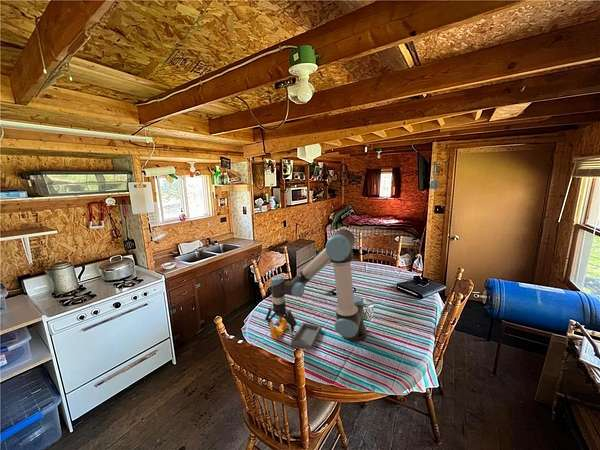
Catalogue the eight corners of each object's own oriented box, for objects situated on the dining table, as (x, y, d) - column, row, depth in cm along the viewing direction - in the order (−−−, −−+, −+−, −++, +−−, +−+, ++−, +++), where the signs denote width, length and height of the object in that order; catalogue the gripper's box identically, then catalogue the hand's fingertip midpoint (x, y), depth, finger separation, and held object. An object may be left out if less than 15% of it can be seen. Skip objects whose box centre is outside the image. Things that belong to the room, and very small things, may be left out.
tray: (321, 330, 150) (321, 325, 149) (311, 350, 134) (311, 345, 133) (303, 326, 154) (302, 322, 154) (291, 345, 138) (290, 340, 138)
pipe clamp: (276, 339, 144) (275, 329, 143) (271, 336, 147) (270, 327, 145) (289, 328, 153) (288, 319, 152) (284, 326, 156) (283, 317, 155)
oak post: (287, 320, 162) (287, 309, 160) (283, 325, 156) (283, 314, 155) (279, 318, 164) (278, 308, 162) (275, 324, 159) (274, 313, 157)
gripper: (300, 301, 143) (302, 333, 148) (263, 295, 153) (266, 325, 157) (295, 308, 136) (298, 341, 141) (257, 301, 146) (260, 332, 151)
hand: (281, 333), depth 149 cm, fingers open, 13 cm apart
